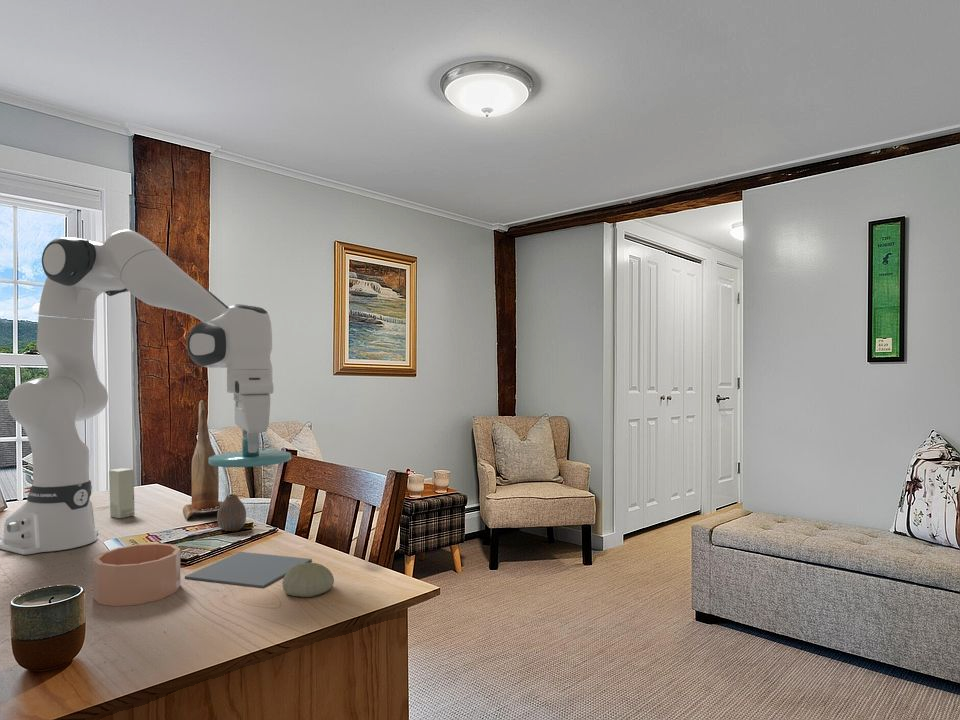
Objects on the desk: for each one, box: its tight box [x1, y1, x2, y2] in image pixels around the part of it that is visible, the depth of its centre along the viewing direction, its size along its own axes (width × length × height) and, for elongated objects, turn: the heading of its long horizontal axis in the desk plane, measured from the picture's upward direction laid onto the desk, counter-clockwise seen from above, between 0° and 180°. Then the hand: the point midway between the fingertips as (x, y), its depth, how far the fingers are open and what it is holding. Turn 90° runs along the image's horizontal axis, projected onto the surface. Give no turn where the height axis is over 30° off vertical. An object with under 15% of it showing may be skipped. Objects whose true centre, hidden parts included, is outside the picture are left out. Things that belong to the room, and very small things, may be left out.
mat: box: [184, 551, 312, 589], centre depth 134 cm, size 18×17×1 cm
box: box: [108, 467, 136, 519], centre depth 179 cm, size 5×4×13 cm
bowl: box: [93, 542, 181, 607], centre depth 122 cm, size 14×14×7 cm
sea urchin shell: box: [281, 562, 335, 598], centre depth 122 cm, size 9×8×8 cm
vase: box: [216, 493, 247, 532], centre depth 165 cm, size 7×7×9 cm
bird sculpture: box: [182, 399, 223, 521], centre depth 181 cm, size 11×12×32 cm
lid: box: [209, 438, 292, 468], centre depth 134 cm, size 16×16×4 cm
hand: (250, 451), depth 134 cm, fingers closed on lid, 3 cm apart
